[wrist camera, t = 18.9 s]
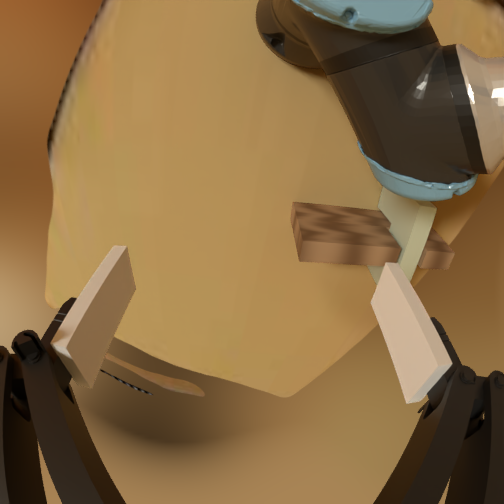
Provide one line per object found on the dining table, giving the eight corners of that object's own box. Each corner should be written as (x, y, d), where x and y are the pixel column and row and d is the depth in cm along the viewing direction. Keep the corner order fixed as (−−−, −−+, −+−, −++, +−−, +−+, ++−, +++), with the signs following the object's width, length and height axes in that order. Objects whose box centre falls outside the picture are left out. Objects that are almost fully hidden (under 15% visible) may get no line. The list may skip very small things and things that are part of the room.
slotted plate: (385, 174, 41) (419, 205, 31) (400, 177, 41) (437, 208, 31) (363, 258, 50) (384, 302, 40) (377, 259, 50) (400, 302, 40)
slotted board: (290, 219, 46) (299, 261, 36) (292, 202, 45) (302, 240, 35) (416, 231, 47) (447, 269, 36) (421, 216, 45) (454, 253, 35)
